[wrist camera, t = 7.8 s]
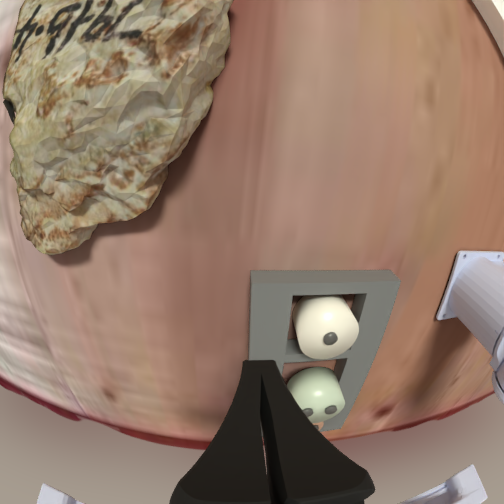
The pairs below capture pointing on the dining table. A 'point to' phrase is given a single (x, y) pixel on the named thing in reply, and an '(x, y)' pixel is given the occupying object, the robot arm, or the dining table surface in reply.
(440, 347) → the dining table surface
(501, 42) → the decorative still life
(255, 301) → the button board
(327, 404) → the button two
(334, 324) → the button one
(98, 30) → the stone
